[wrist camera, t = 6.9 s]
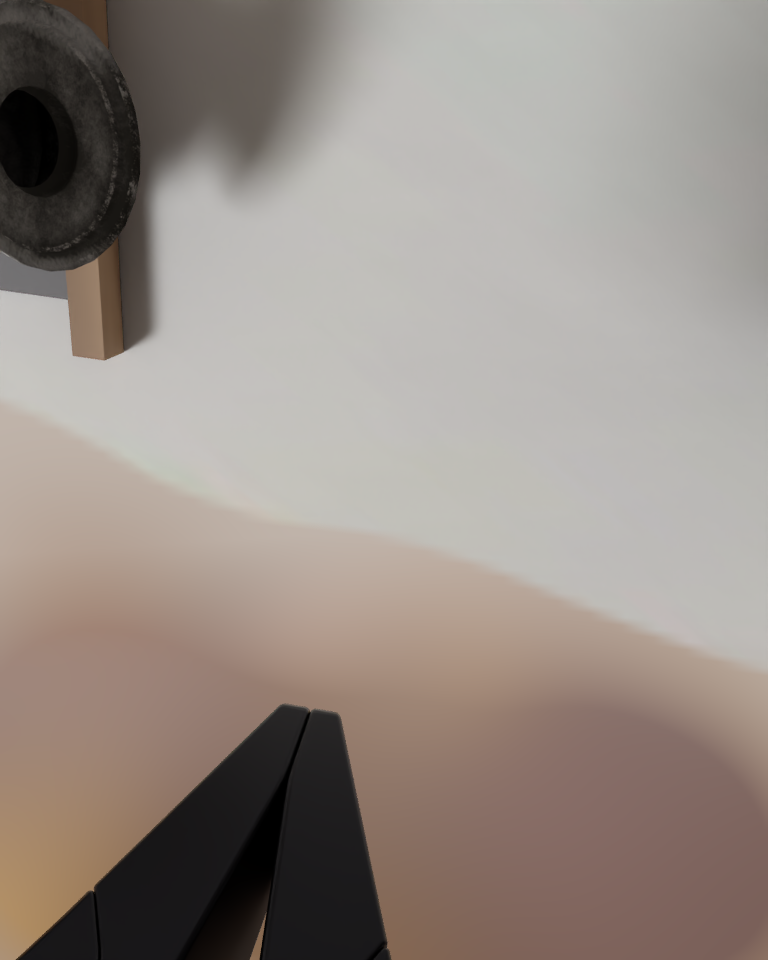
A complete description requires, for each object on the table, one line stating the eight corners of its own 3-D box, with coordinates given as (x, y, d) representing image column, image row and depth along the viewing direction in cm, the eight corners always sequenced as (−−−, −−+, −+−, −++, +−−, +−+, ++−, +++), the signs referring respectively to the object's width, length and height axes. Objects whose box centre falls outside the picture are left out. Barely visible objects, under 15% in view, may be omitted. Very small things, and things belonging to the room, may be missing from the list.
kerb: (101, -84, 16) (74, -106, 15) (123, 351, 20) (104, 360, 19) (63, -88, 16) (33, -109, 15) (93, 347, 20) (72, 355, 19)
